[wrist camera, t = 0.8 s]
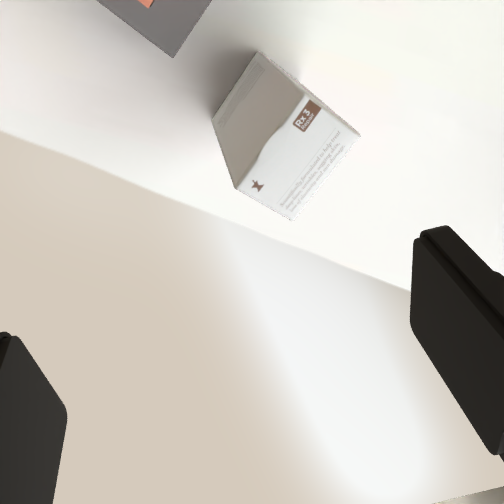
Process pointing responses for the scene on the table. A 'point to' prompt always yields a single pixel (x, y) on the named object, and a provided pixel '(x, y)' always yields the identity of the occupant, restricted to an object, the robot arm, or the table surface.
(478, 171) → the table surface
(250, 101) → the skincare box
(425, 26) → the table surface
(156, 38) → the key housing
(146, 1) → the brick key
